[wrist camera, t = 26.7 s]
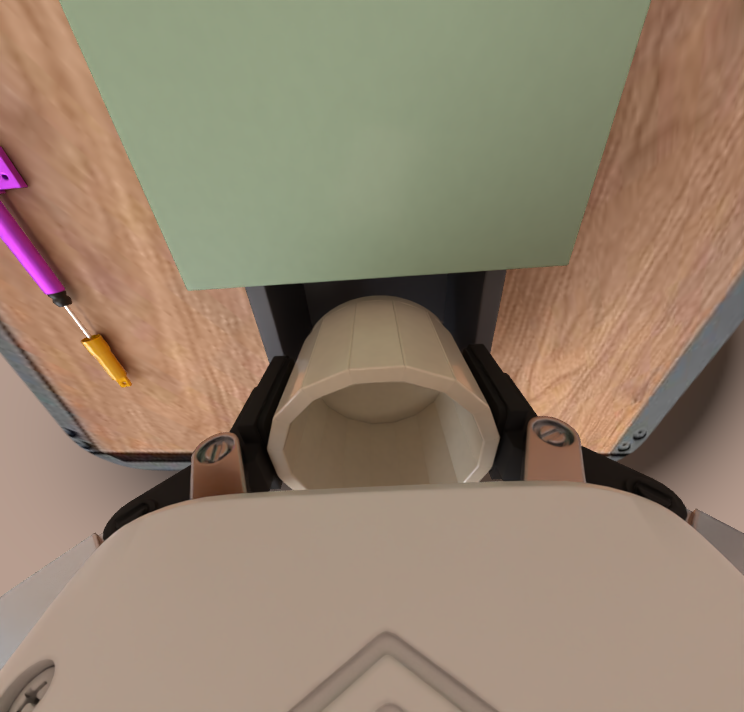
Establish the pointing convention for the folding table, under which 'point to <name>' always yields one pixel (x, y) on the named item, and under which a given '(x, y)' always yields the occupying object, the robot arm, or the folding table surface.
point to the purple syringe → (48, 272)
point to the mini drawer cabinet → (361, 129)
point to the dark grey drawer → (434, 292)
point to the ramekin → (381, 403)
